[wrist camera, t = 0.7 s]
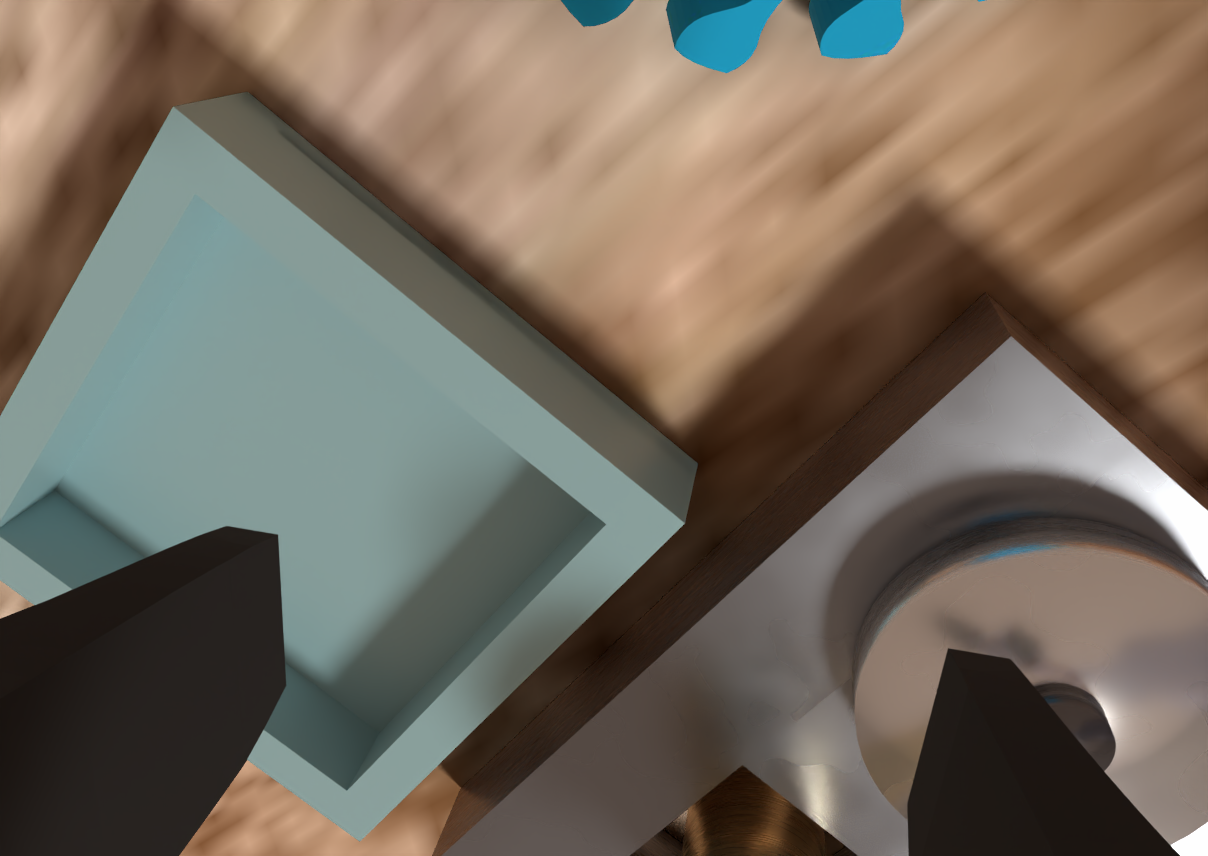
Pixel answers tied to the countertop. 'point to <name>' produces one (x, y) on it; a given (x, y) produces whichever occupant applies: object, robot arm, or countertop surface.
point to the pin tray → (328, 449)
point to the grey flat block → (894, 622)
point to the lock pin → (749, 822)
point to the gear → (761, 26)
